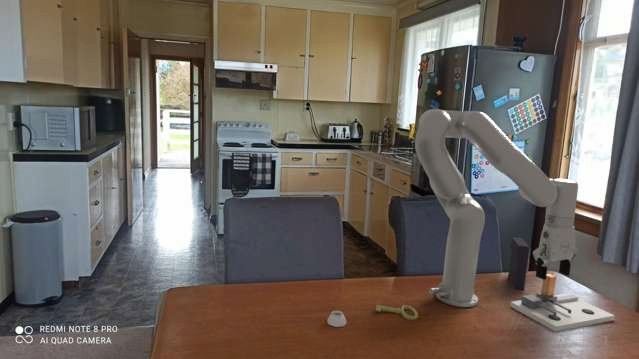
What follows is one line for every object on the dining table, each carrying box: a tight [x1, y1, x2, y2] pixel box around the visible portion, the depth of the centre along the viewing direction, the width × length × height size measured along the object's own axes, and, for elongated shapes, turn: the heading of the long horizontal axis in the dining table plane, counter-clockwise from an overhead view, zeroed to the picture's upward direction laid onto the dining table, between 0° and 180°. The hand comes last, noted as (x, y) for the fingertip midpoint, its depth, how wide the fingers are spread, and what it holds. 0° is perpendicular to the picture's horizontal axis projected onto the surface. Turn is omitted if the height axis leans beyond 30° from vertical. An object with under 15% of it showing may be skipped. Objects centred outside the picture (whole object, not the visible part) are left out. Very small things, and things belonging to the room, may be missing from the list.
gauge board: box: [509, 293, 615, 332], centre depth 135 cm, size 24×16×4 cm, turn 113°
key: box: [374, 304, 419, 320], centre depth 127 cm, size 7×12×2 cm, turn 106°
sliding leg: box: [535, 273, 571, 314], centre depth 134 cm, size 4×10×8 cm, turn 23°
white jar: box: [326, 310, 347, 328], centre depth 119 cm, size 5×3×5 cm
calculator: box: [507, 237, 531, 290], centre depth 156 cm, size 11×4×15 cm, turn 168°
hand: (552, 276), depth 136 cm, fingers open, 9 cm apart
